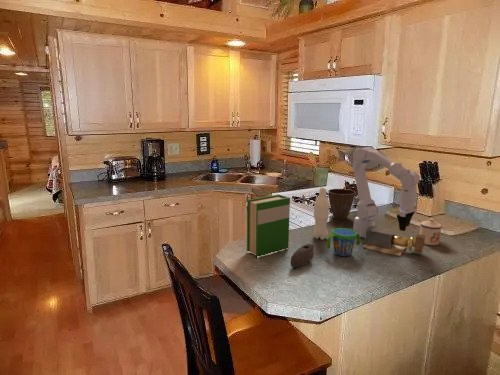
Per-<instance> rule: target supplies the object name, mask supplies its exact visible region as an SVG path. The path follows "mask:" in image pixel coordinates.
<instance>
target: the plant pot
mask: <svg viewBox="0 0 500 375" xmlns="http://www.w3.org/2000/svg"><path fill="white" fill-rule="evenodd" d="M327 192H328V202H329V208H330V211H331V214H332V218H333V219H335V220H338V221H339V220H340V221H344V220H347V219H348V216H349V215H350V213H351V210H352V206H353V203H354V201H355V195H356V192H355V191H354V190H352V189H346V188H332V189H329V190H328V191H327Z"/></svg>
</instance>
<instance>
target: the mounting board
mask: <svg viewBox="0 0 500 375" xmlns="http://www.w3.org/2000/svg"><path fill="white" fill-rule="evenodd" d="M362 248H363V249H367V250H371V251H375V252H379V253H380V252H381V253H384V254H389V255H393V256H396V257H397V256H398V257H400V256H402V254H403V253H404V252H405V250H406V248H405V247H401V246H396V245H393V247H392V248H391V249H390V250H389V249H385V248H380V247H376V246H371V245H367V244H364V245H363V246H362Z"/></svg>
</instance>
